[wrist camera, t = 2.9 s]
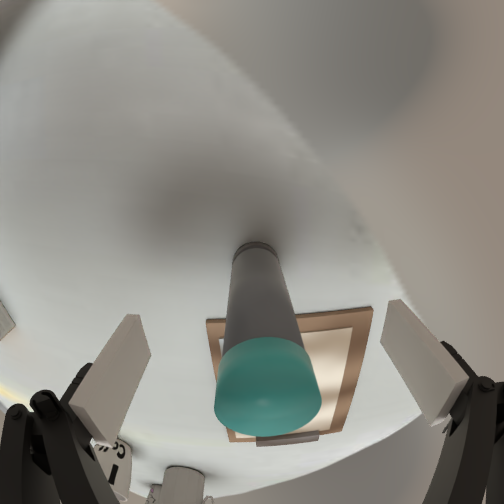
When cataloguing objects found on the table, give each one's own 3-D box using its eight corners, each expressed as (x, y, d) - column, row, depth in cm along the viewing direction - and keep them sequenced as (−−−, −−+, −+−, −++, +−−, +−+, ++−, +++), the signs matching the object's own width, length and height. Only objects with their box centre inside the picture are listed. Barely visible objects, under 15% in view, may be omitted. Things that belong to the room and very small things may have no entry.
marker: (229, 242, 21) (206, 376, 8) (279, 239, 21) (328, 368, 8) (233, 286, 22) (221, 437, 9) (280, 284, 22) (315, 431, 9)
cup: (135, 439, 31) (120, 491, 21) (143, 460, 33) (132, 505, 24) (89, 425, 30) (69, 471, 21) (101, 447, 33) (86, 489, 23)
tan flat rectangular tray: (206, 319, 23) (204, 330, 22) (371, 306, 23) (377, 315, 22) (229, 438, 30) (229, 448, 28) (340, 428, 30) (343, 436, 28)
